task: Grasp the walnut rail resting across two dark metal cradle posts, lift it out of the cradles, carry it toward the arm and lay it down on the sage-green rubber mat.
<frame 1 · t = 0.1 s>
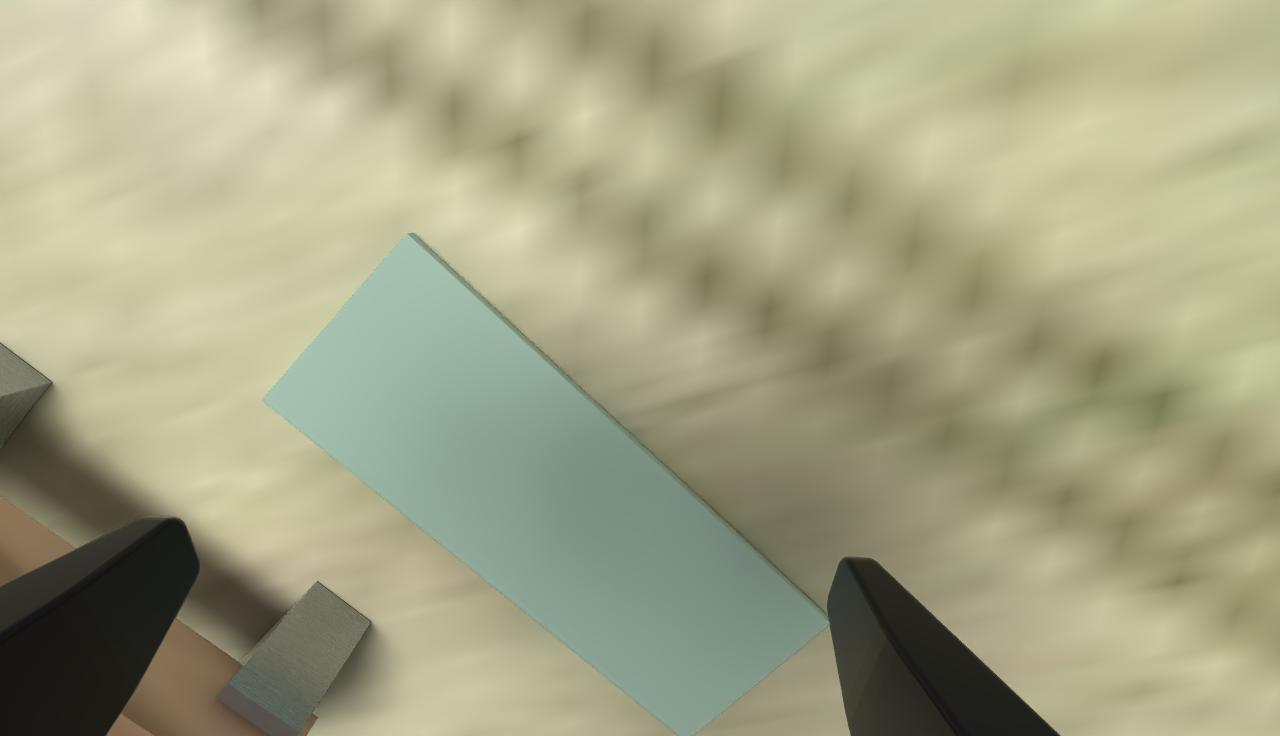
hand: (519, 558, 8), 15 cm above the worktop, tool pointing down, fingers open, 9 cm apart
post 2: (304, 641, 26), on the worktop
mat: (564, 511, 25), on the worktop
rail: (63, 588, 21), point 4 cm above the worktop, touching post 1, post 2
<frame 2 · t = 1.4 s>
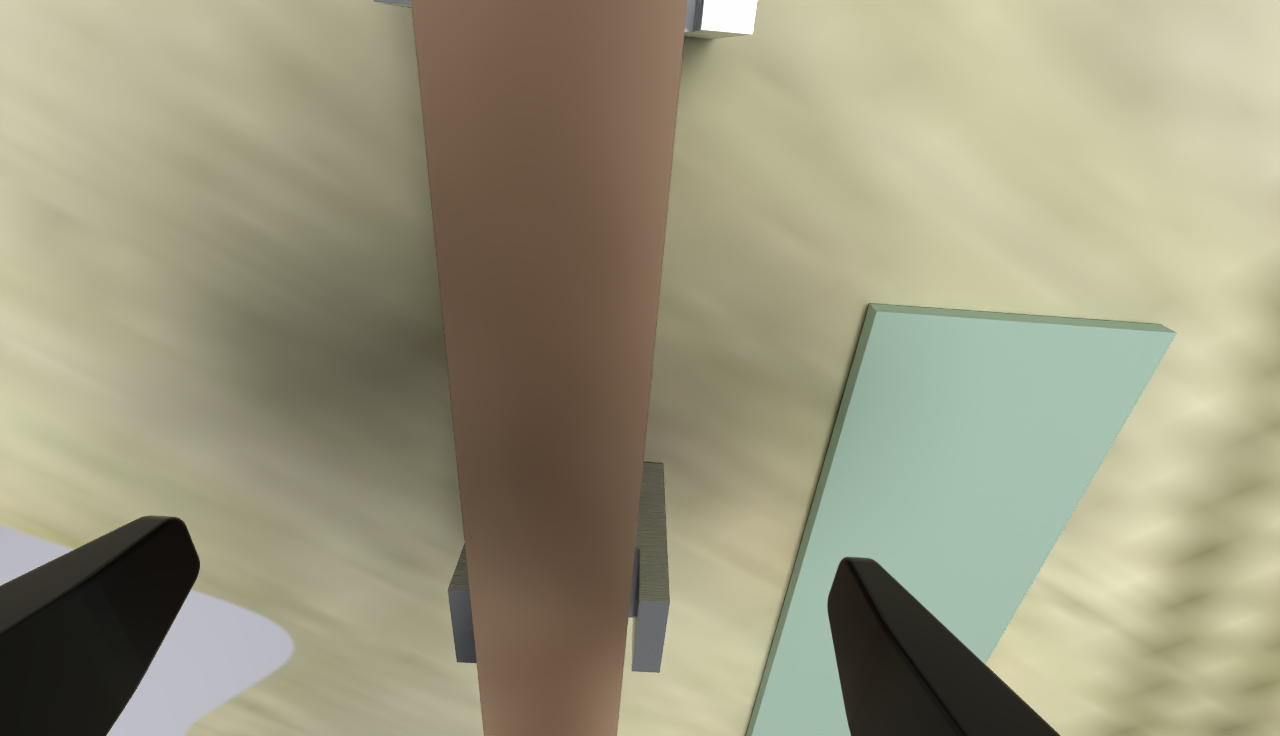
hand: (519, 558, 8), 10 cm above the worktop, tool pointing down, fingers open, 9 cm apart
post 2: (579, 491, 21), on the worktop
mat: (900, 587, 23), on the worktop
rail: (571, 343, 14), point 4 cm above the worktop, touching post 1, post 2
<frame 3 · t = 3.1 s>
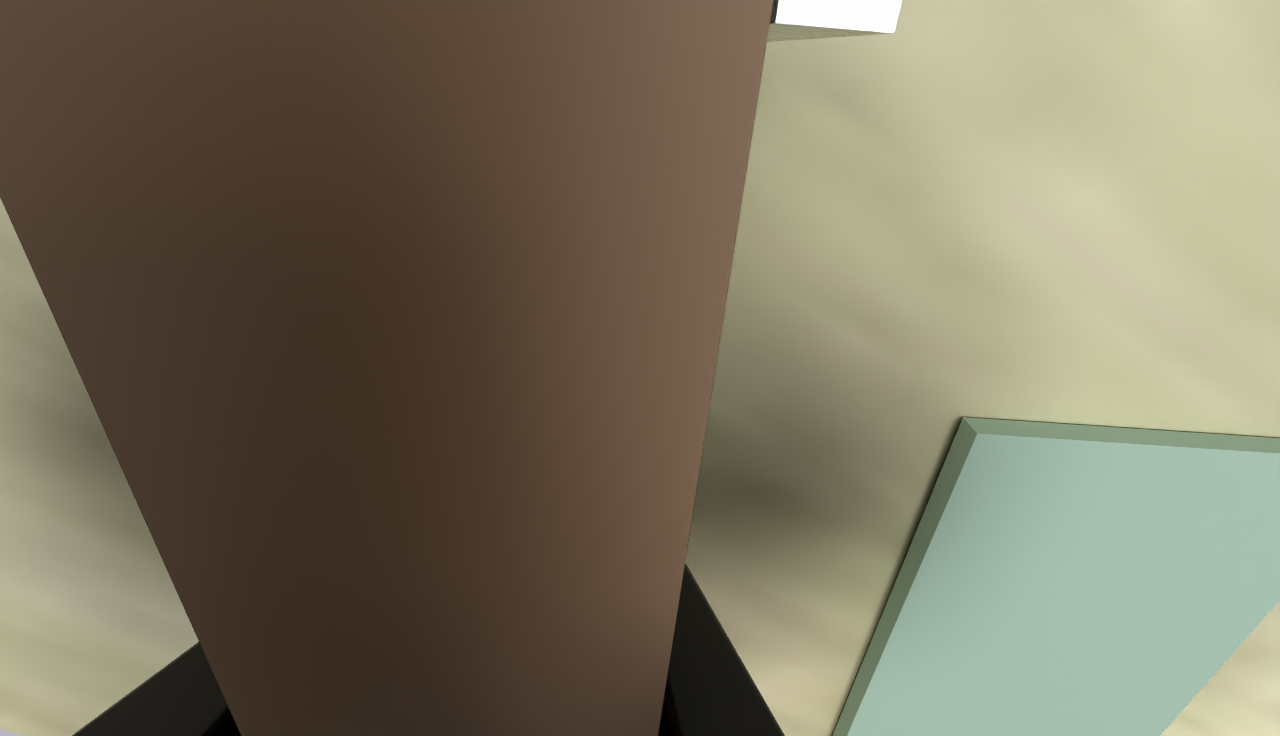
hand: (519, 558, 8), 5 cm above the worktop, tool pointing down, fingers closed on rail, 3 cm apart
rail: (525, 531, 8), point 4 cm above the worktop, touching gripper, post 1, post 2
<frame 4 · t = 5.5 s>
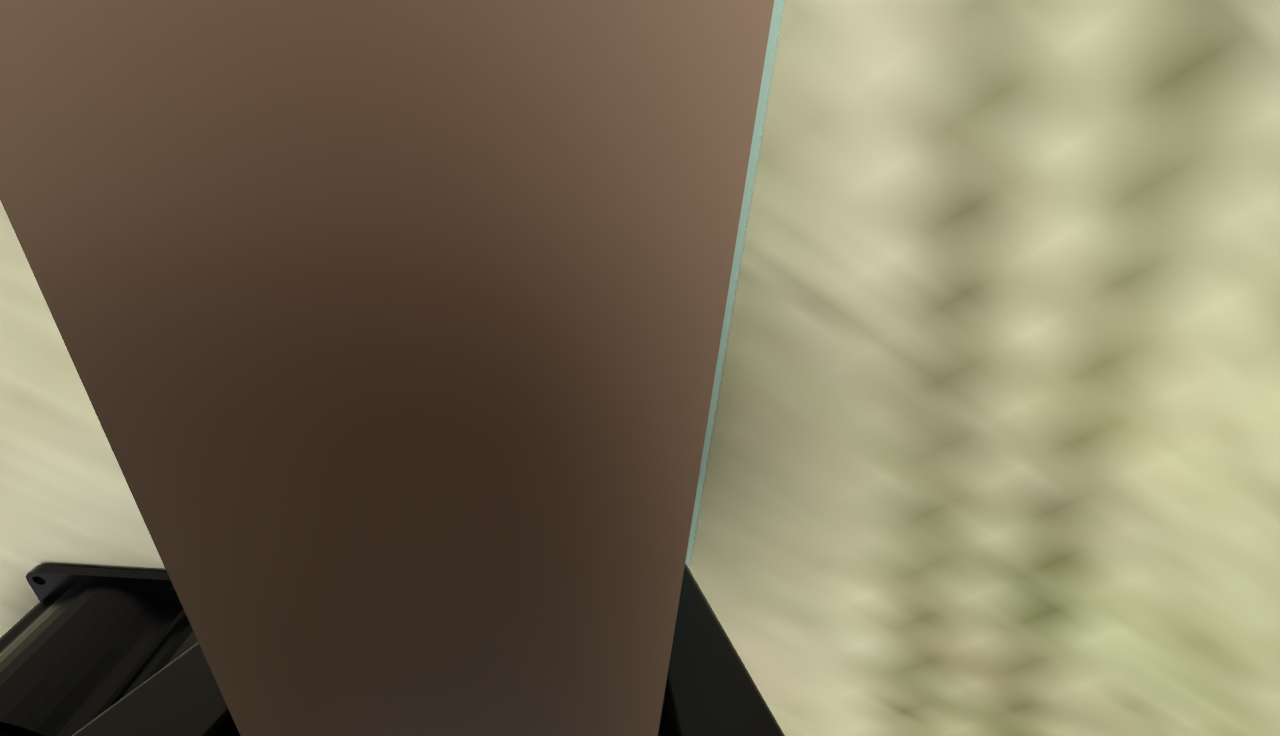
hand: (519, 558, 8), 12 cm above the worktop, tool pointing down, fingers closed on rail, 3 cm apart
mat: (592, 272, 18), on the worktop
rail: (525, 528, 8), point 11 cm above the worktop, touching gripper
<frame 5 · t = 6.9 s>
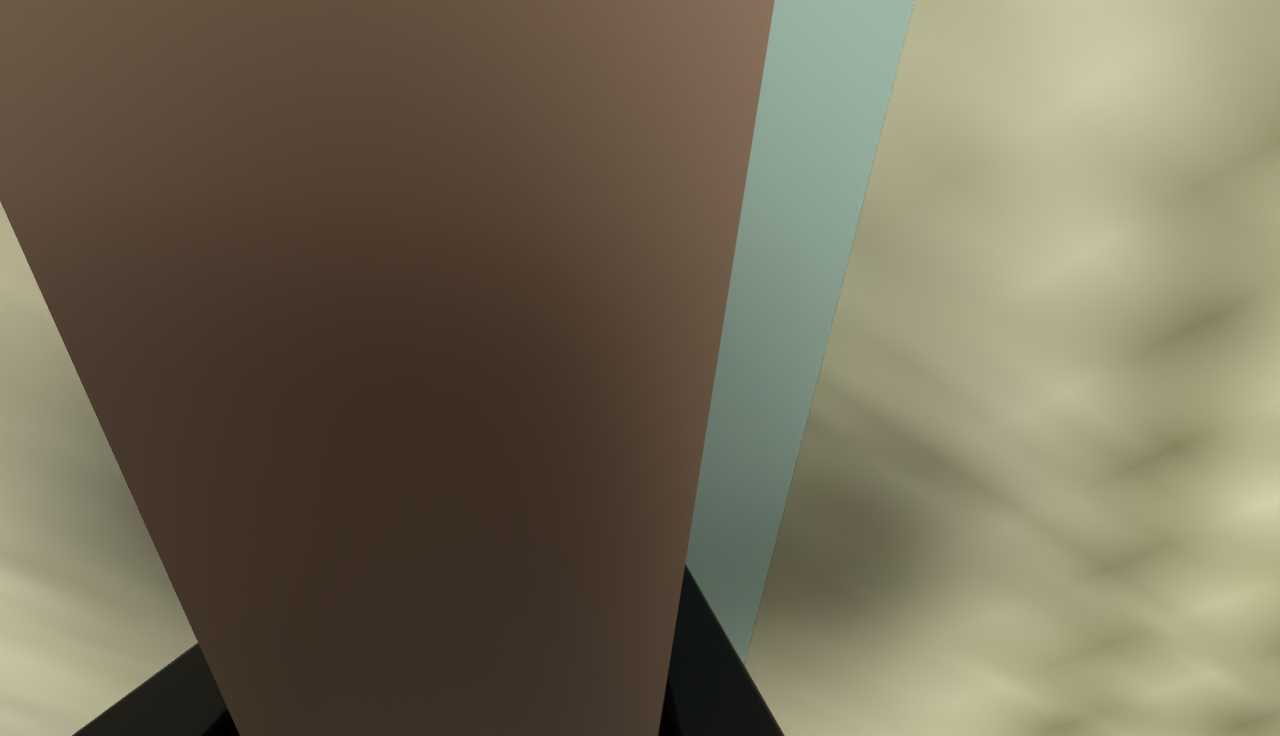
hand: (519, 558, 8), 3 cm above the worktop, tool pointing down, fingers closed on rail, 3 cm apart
mat: (556, 418, 11), on the worktop
rail: (525, 528, 8), point 3 cm above the worktop, touching gripper
when the fingers open (2 cm above the worktop, at t = 7.8 s): rail drops 1 cm, resting on mat.
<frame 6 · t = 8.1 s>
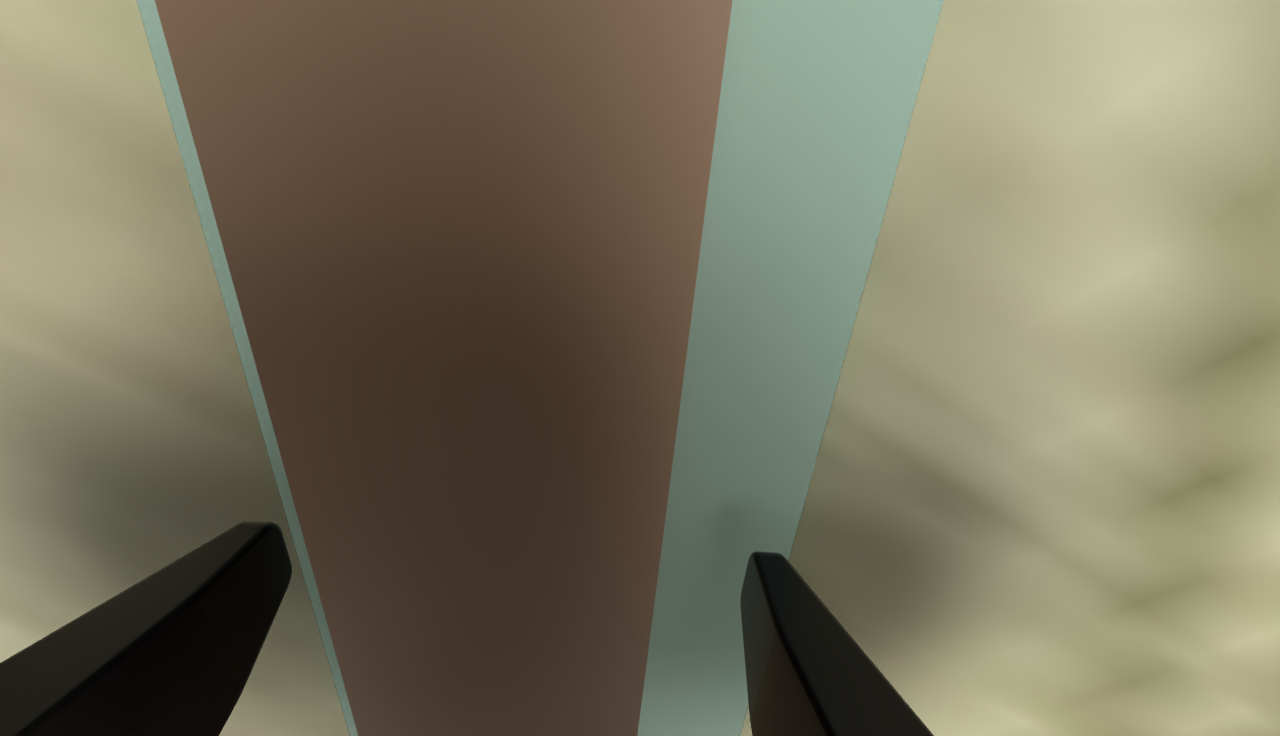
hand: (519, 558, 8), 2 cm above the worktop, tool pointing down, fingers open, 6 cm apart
mat: (547, 449, 10), on the worktop
rail: (540, 469, 10), point 1 cm above the worktop, touching mat
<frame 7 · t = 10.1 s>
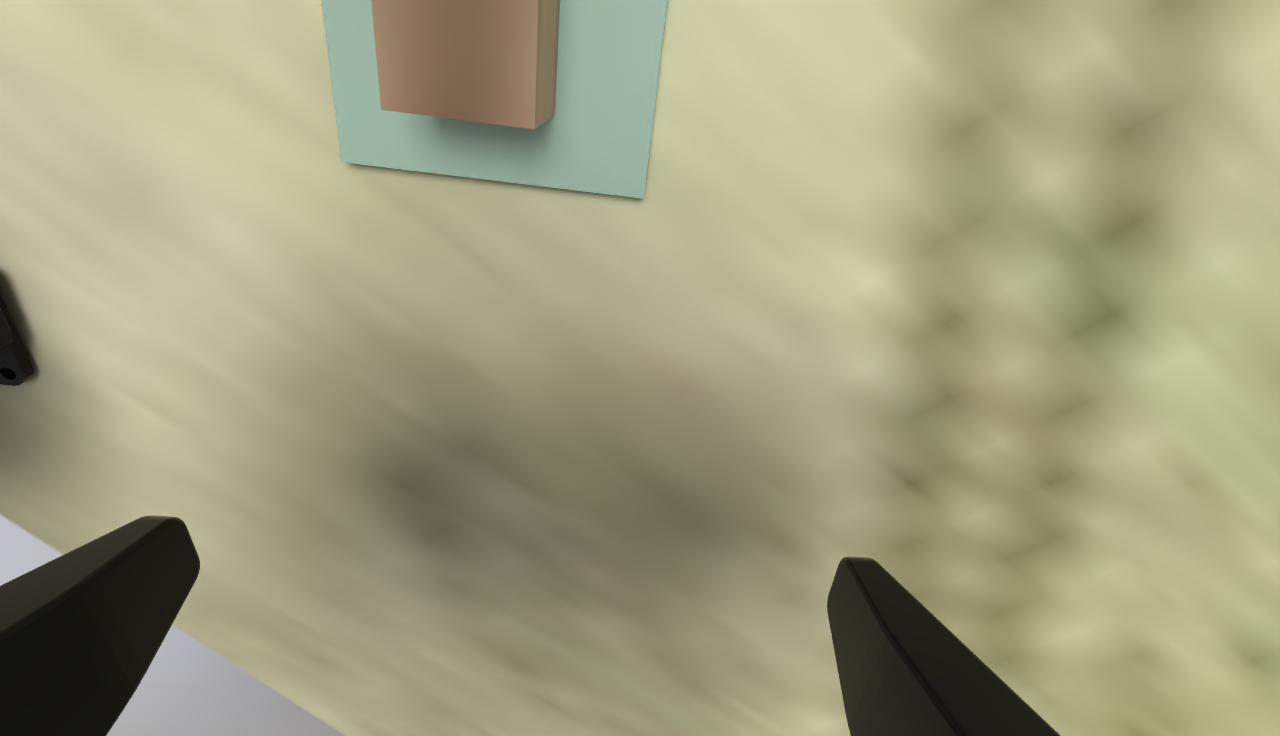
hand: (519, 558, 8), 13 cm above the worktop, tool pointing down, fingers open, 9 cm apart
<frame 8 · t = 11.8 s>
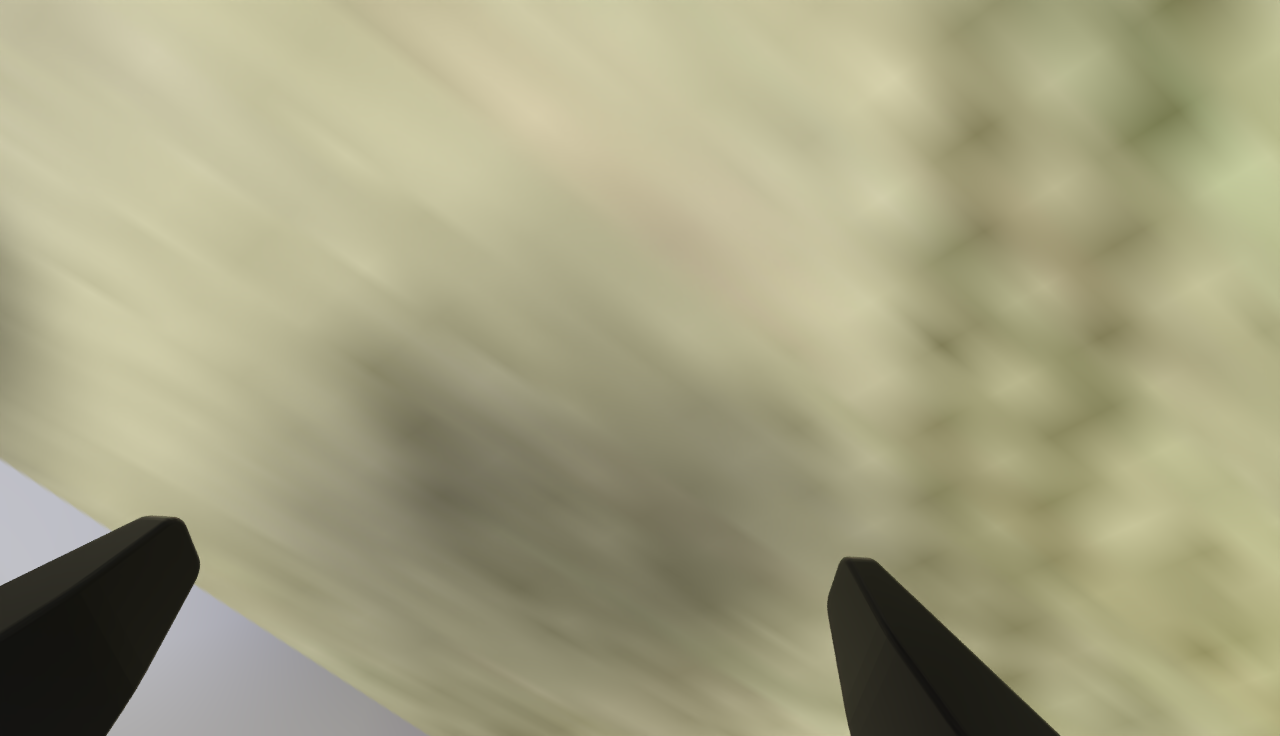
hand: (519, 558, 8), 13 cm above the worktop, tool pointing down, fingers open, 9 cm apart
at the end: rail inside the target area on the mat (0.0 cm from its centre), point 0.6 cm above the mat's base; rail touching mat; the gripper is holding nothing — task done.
